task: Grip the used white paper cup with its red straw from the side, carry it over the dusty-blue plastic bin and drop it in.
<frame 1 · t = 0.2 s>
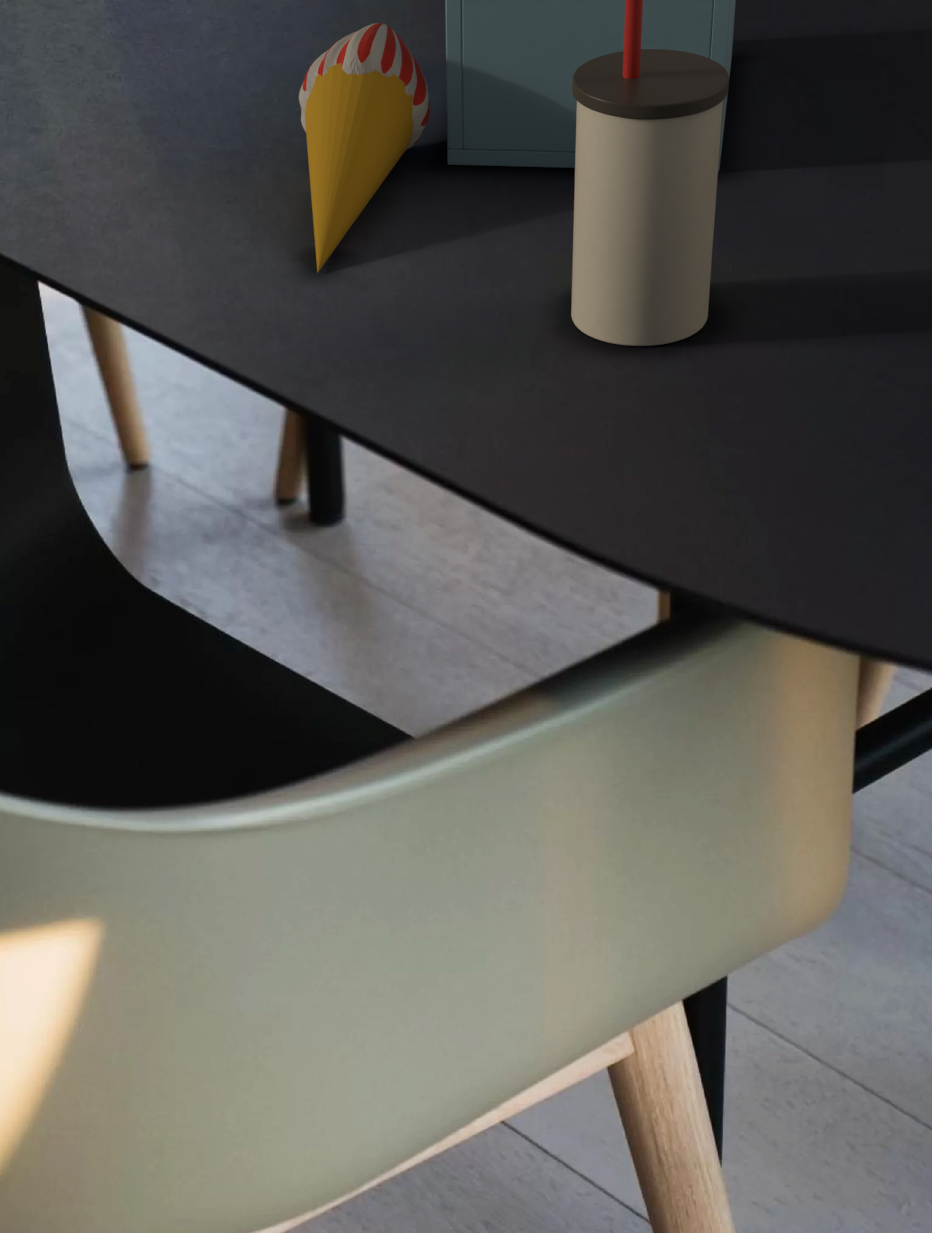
paper cup: (639, 315, 97), on the table
ice cream cone: (347, 192, 109), on the table
bin: (595, 109, 116), on the table
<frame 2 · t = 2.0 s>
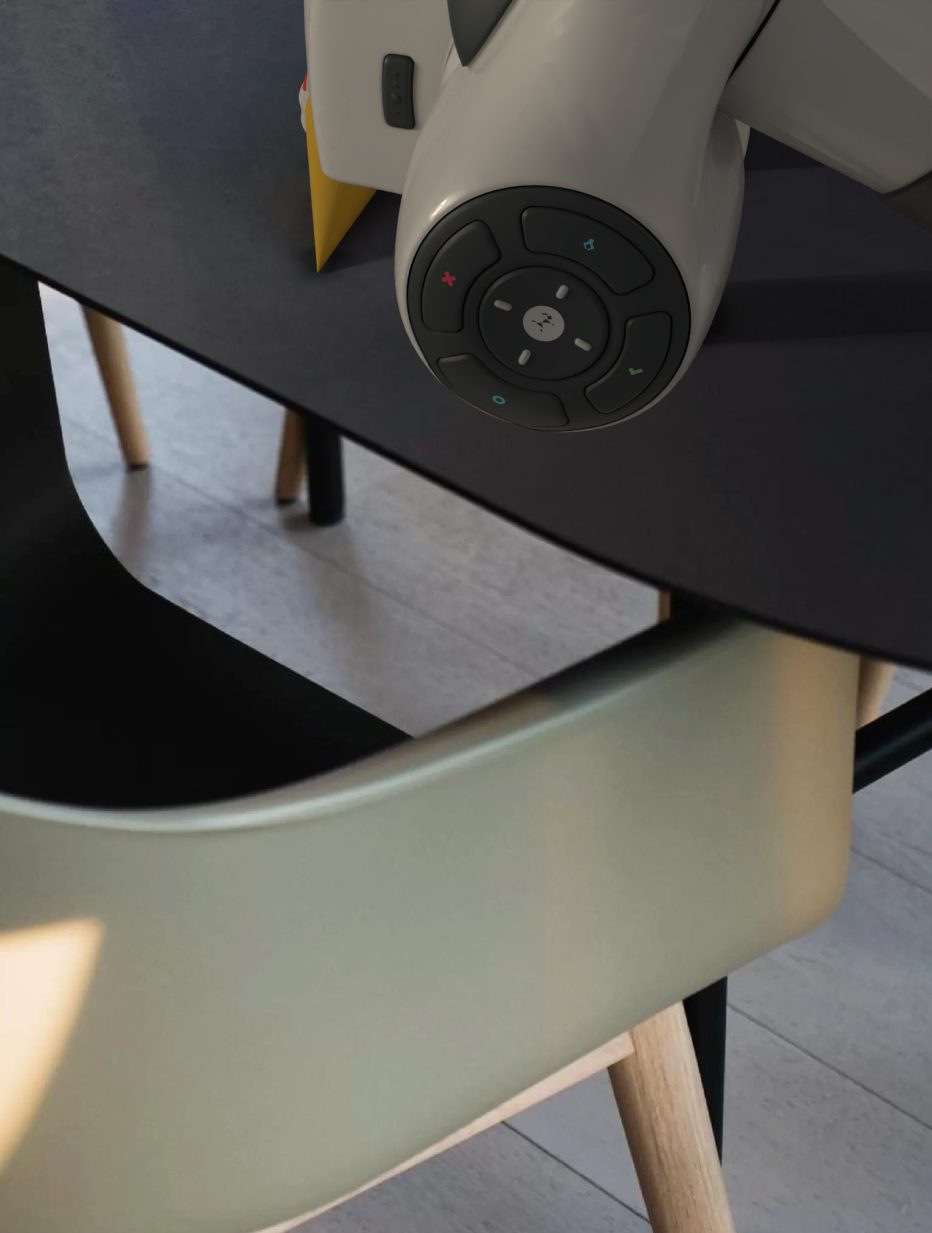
nothing on the table moved.
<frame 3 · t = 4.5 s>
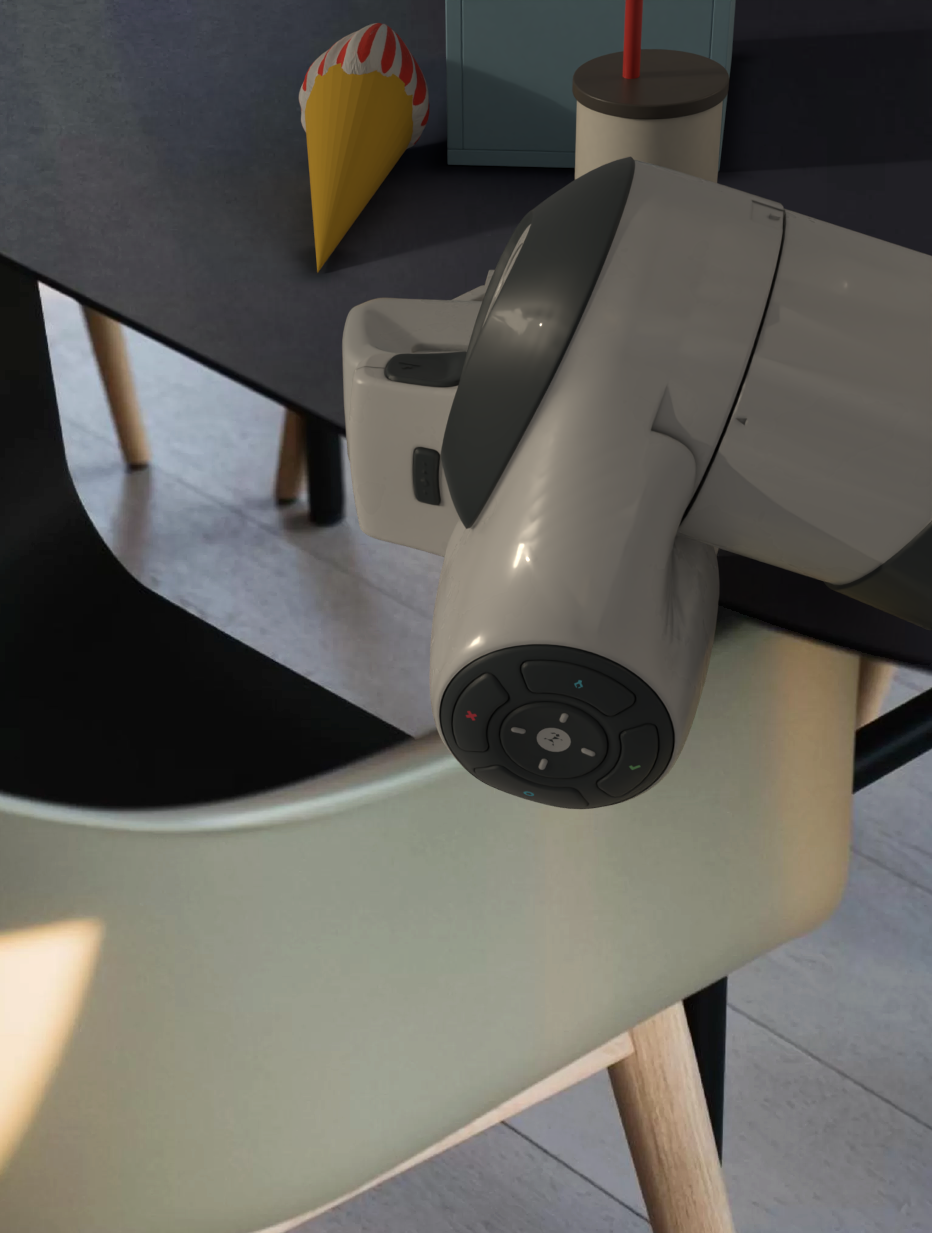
hand: (628, 291, 86), 6 cm above the table, tool horizontal, fingers open, 8 cm apart
nothing on the table moved.
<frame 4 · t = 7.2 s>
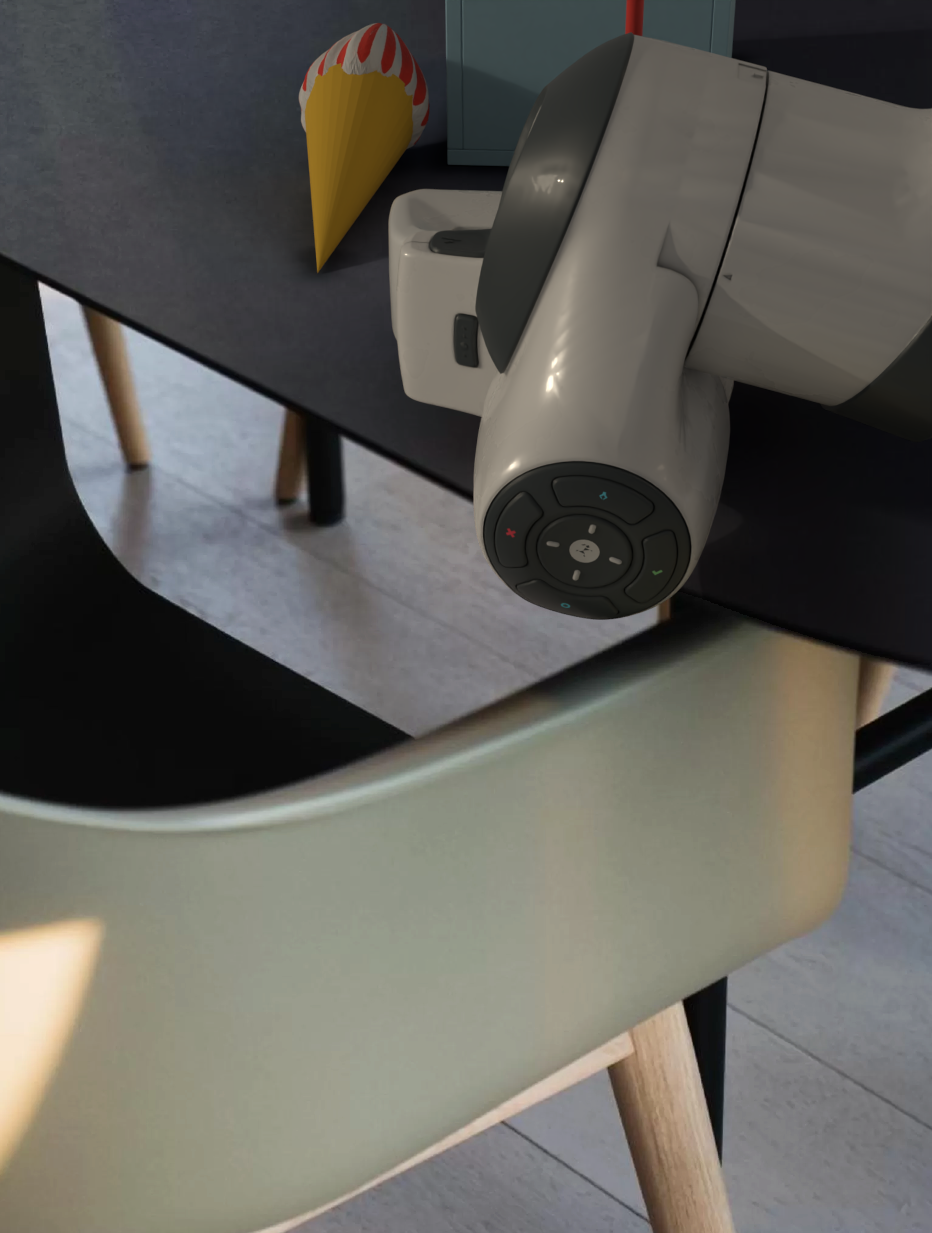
hand: (645, 186, 94), 6 cm above the table, tool horizontal, fingers closed on paper cup, 6 cm apart
paper cup: (639, 315, 97), on the table, touching gripper
everything else where it was.
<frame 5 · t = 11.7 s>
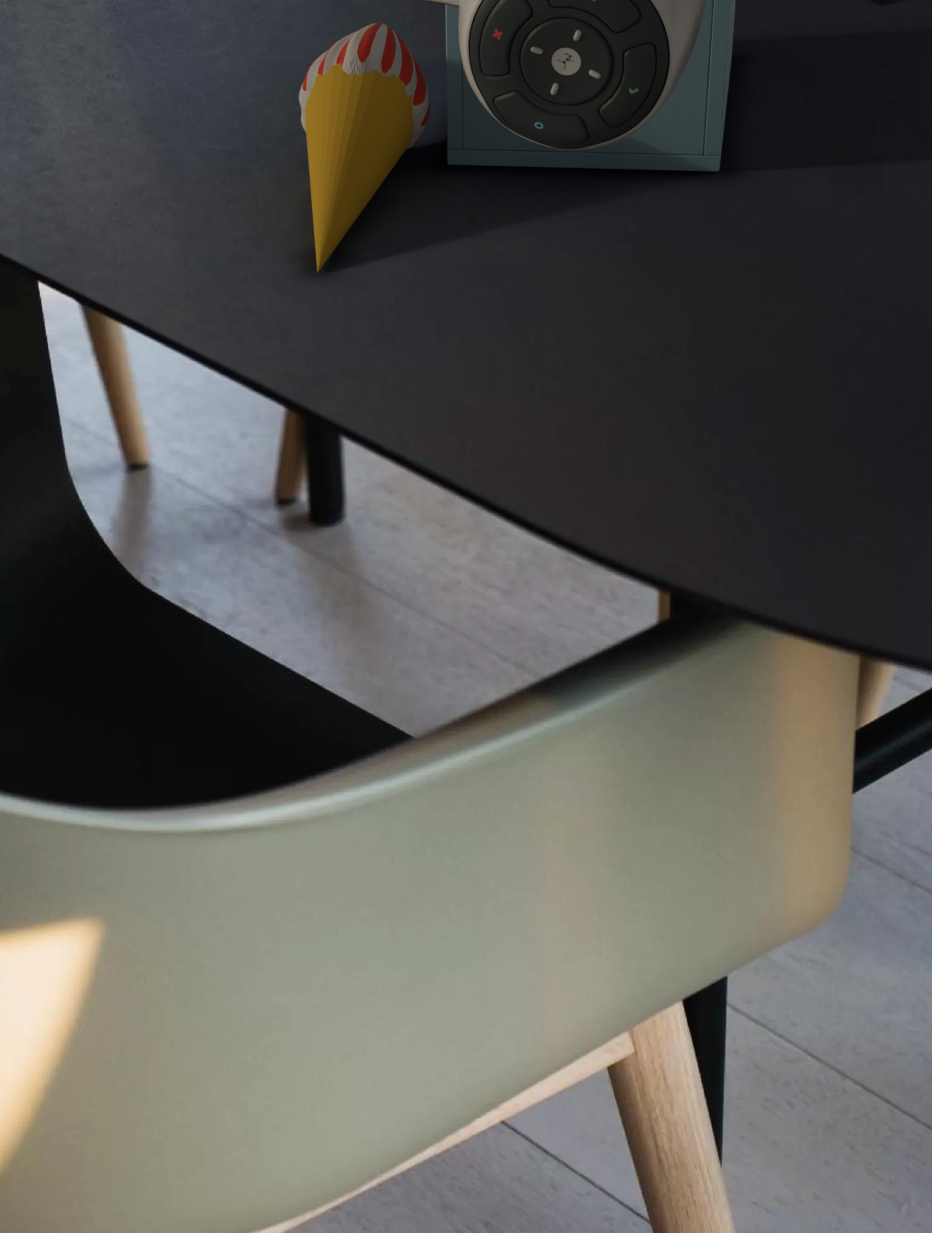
when the fingers open (11 cm above the table, at t = 16.0 s): paper cup drops 5 cm, resting on bin.
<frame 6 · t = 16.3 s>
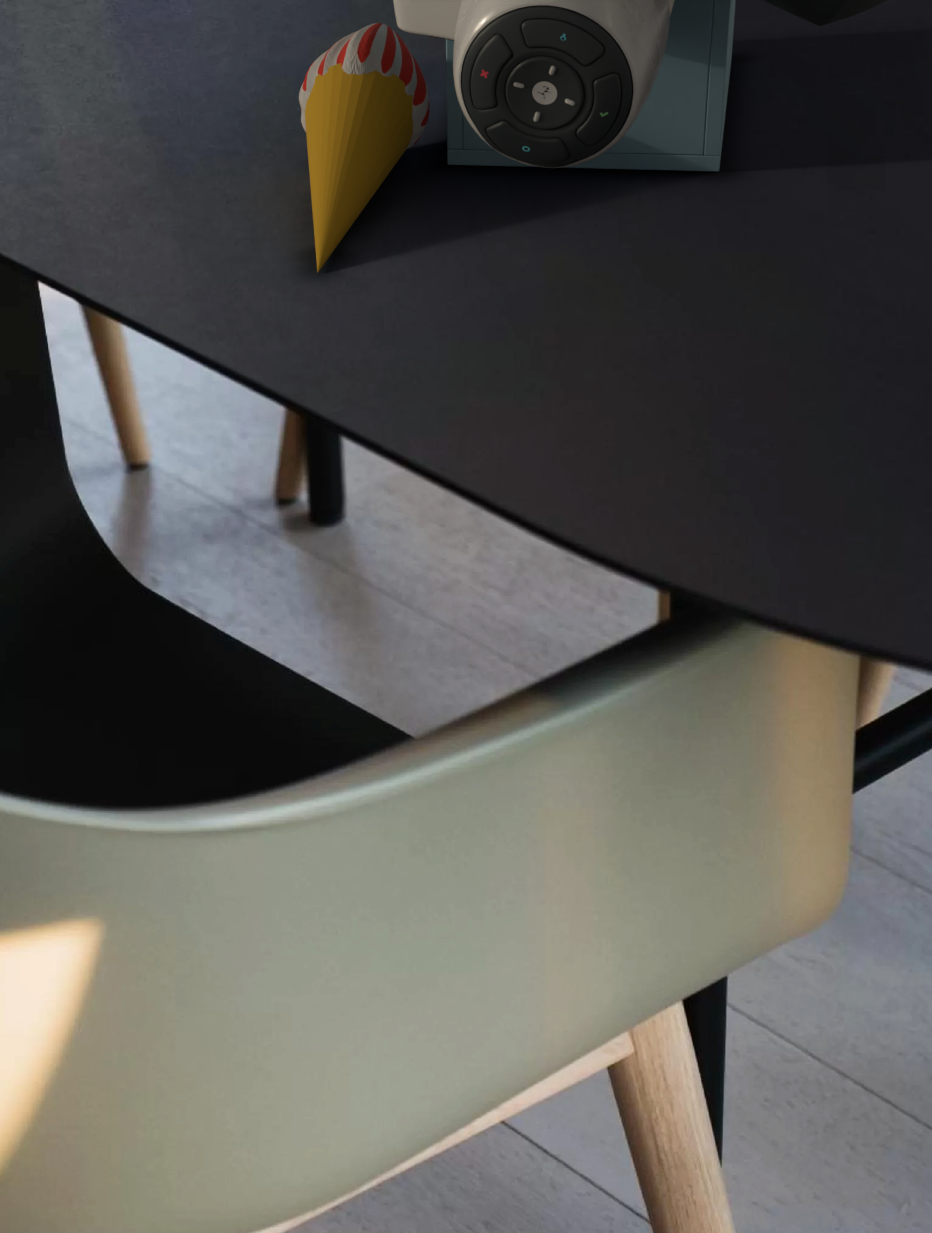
paper cup: (600, 94, 115), point 1 cm above the table, touching bin
everything else where it was.
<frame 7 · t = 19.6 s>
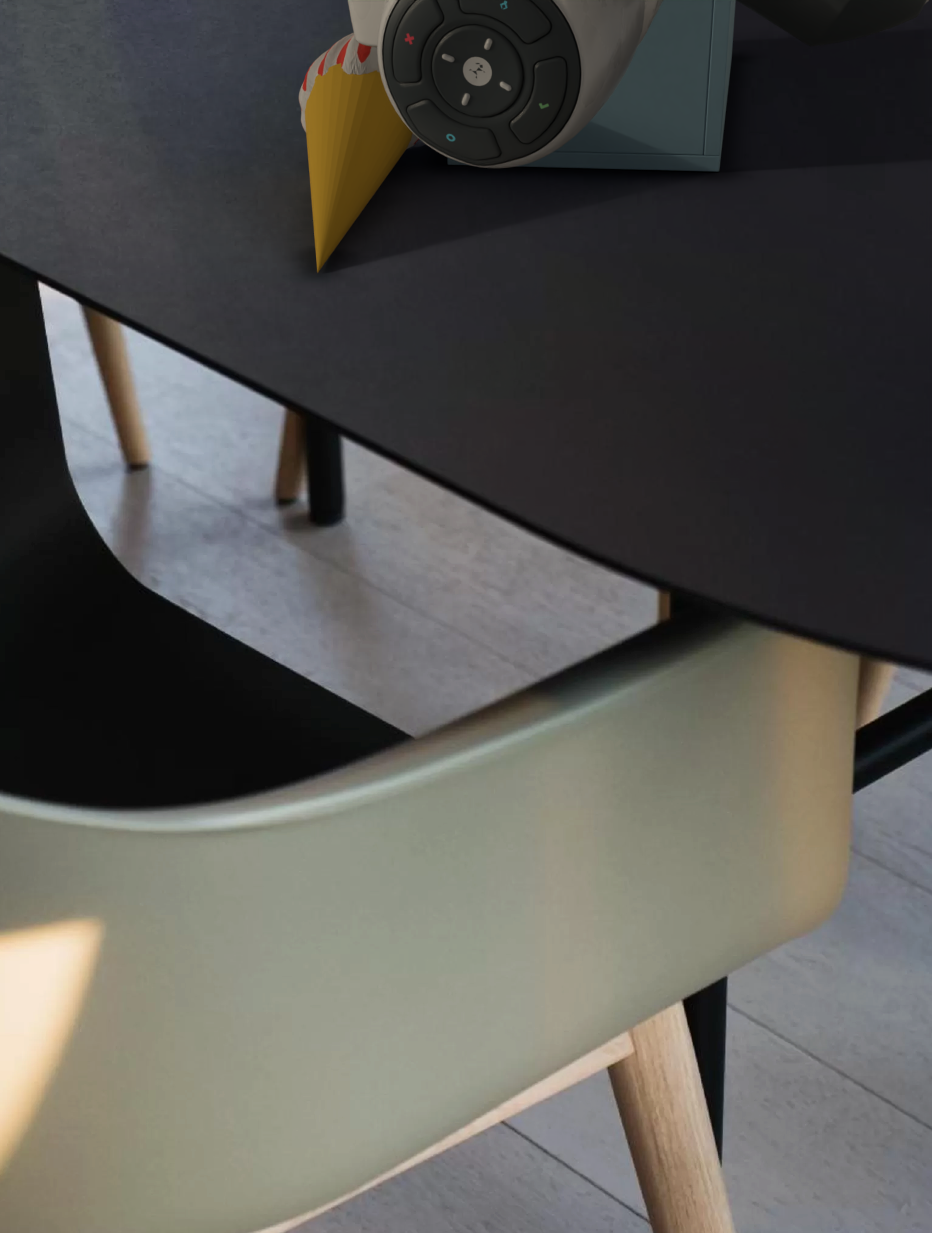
nothing on the table moved.
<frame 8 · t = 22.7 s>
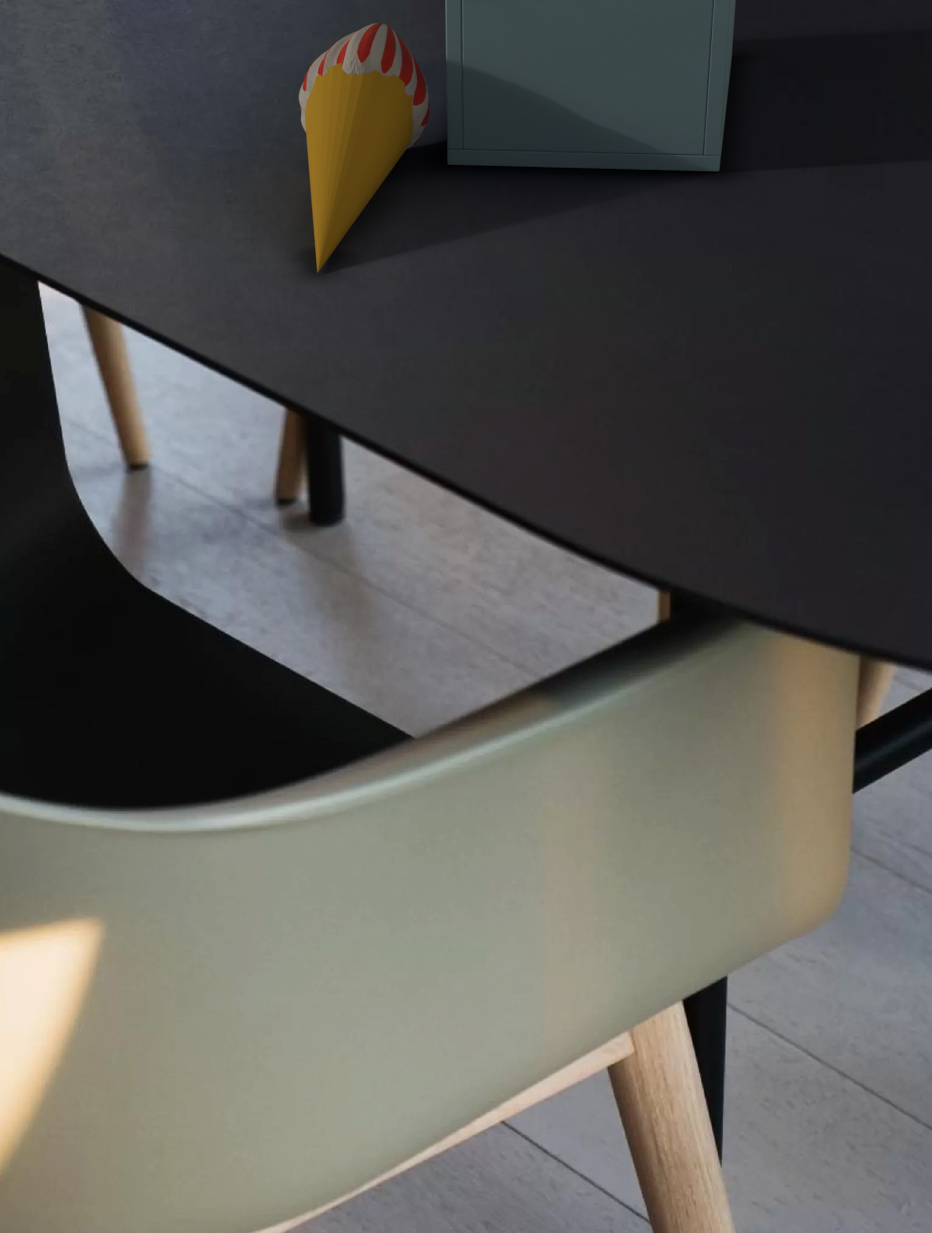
nothing on the table moved.
at the end: paper cup inside the target area in the bin (0.3 cm from its centre), point 0.8 cm above the bin's base; the gripper is holding nothing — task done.
